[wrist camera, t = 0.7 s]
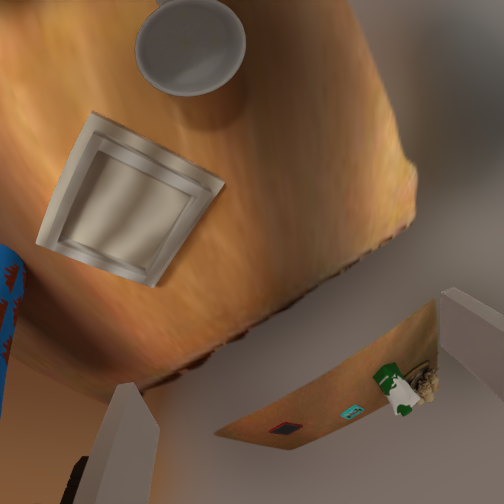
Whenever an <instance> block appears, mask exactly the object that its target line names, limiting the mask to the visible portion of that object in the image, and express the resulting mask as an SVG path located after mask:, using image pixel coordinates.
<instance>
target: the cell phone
mask: <svg viewBox="0 0 504 504" xmlns="http://www.w3.org/2000/svg"><path fill="white" fill-rule="evenodd" d="M302 427H303V426H302V425H298V424H291V423H286V422H284V423H282V424H280V425H278V426H277V427H275V428H273V429H271V430H270V431H269V433H274V434H282V435H290V434H292V433H293V432H295V431H297V430H299V429H300V428H302Z"/></svg>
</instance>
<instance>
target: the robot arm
mask: <svg viewBox="0 0 504 504" xmlns="http://www.w3.org/2000/svg"><path fill="white" fill-rule="evenodd" d="M440 346H441V347H443V348H444V349H445V350H446V351H447V352H448V353H450V354H451V355H452V356H453V357H454V358H456V359H457V360H458V361H459V362H460V363H461V364H462V365H463V366H465V367H466V368H467V369H468V370H469V371H470V372H471V373H472V374H473V375H475V376H476V377H477V378H478V379H479V380H480V381H481V382H482V383H484V384H485V385H486V386H487V387H488V388H489V389H490V390H491V391H492V392H494V394H496V395H497V396H498V397H499V398H500V399H501V400H502V401H503V402H504V316H503V315H502V314H500V313H498V312H497V311H495V310H493V309H492V308H490V307H488V306H486V305H485V304H483V303H481V302H479V301H478V300H476V299H474V298H472V297H471V296H469V295H467V294H466V293H464V292H462V291H460V290H458V289H456V288H455V287H452V288H449V289H447V290H445V291H443V292H441V327H440ZM159 433H160V428H159V426H158V425H157V423H156V421H155V420H154V418H153V416H152V414H151V413H150V411H149V409H148V408H147V406H146V404H145V402H144V401H143V399H142V397H141V395H140V393H139V391H138V389H137V388H136V386H135V384H134V382H132V383H126V384H120V385H117V387H116V390H115V392H114V395H113V397H112V399H111V402H110V404H109V407H108V409H107V412H106V414H105V417H104V419H103V422H102V424H101V427H100V429H99V432H98V435H97V437H96V440H95V442H94V445H93V448H92V450H91V453H90V456H82V457H81V459H80V460H79V461H78V462H77V463H76V464H75V466H74V468H73V470H72V473H71V475H70V479H69V481H68V483H67V488H66V489H65V491H64V494H63V497H62V500H61V503H60V504H148V499H149V493H150V486H151V480H152V474H153V468H154V462H155V456H156V450H157V445H158V439H159Z"/></svg>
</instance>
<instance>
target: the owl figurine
mask: <svg viewBox="0 0 504 504" xmlns="http://www.w3.org/2000/svg"><path fill="white" fill-rule="evenodd" d="M429 363H430V362H429V361H428V360H426V361H424V362H422V363H421V364H419V365H418V366H416V367H415V368H413V369H412V370H411V371H410V372H408V373H407V374H406V375H405V376H404V378H405V380H406V381H407V383H408V384H409V386H410V387H411V388H412V390H413V391H414V392H415V393H416V394H417V395H418V396H419V397H420V398H421V399H420V400H419V401H418V402H416V404H417V405H421V404H423V403H424V401H427V402H431V401H433V399H434V394H433V393H432V392H435V391H437V390H438V388H439V385H438V381H439V378H438V376H437V375H436V373H434V371H435V369H434V368H432V369H429V368H428V367H429Z"/></svg>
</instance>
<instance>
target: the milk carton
mask: <svg viewBox="0 0 504 504" xmlns="http://www.w3.org/2000/svg"><path fill="white" fill-rule="evenodd" d="M373 378H374V379H375V381H376V382H377V383H378V385H379V386H380V388H381V389H382V391H383V392H384V394H385V396H386V397H387V399H388V400H389V402H390V404H391V405H392V407H393V410H394V413H395V415H398V414H402V416H406V415H407V414H409V413H410V412H411V411H412V408H411V407H412V406H413V405H414V404H415V403H416V402H418V401H419V400H420V399H421V398H420V397H419V396H418V395H417V394H416V393H415V392H414V391H413V390H412V388H411V387H410V386H409V384H408V383H407V381H406V380H405V378H404V377H403V375H402V374H401V372H400V370H399V368H398V367H397V365H396V363H392V364H388V365H384V366H383V367H382V368H381V369H380V370H379V371H378V372H377V373H376V374H375V376H374V377H373Z"/></svg>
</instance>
